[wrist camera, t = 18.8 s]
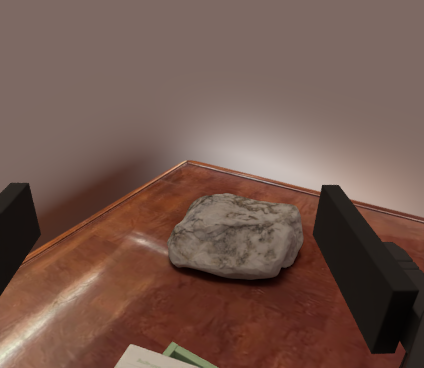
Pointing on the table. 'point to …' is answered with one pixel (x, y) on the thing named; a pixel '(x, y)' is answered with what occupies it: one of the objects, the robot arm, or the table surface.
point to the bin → (186, 356)
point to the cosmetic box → (148, 359)
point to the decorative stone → (237, 237)
